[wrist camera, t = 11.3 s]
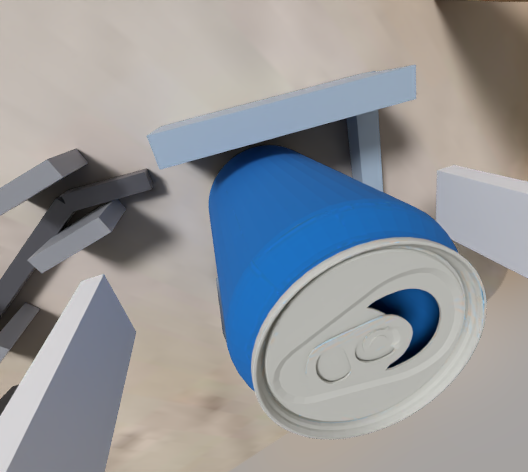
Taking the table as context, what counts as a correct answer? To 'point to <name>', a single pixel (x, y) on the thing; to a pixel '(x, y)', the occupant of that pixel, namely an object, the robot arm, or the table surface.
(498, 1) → the ice cream cone
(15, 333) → the clip
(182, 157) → the end holder
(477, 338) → the beverage can
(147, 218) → the table surface
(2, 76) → the table surface
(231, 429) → the table surface
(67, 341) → the robot arm
